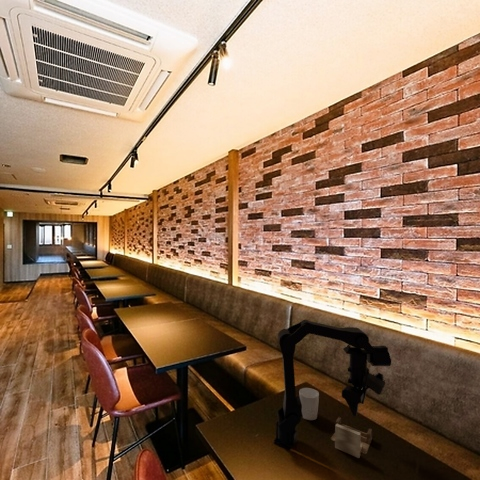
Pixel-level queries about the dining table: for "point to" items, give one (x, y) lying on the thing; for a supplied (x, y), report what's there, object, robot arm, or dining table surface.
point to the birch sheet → (347, 440)
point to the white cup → (309, 403)
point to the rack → (365, 437)
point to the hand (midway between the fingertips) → (358, 409)
